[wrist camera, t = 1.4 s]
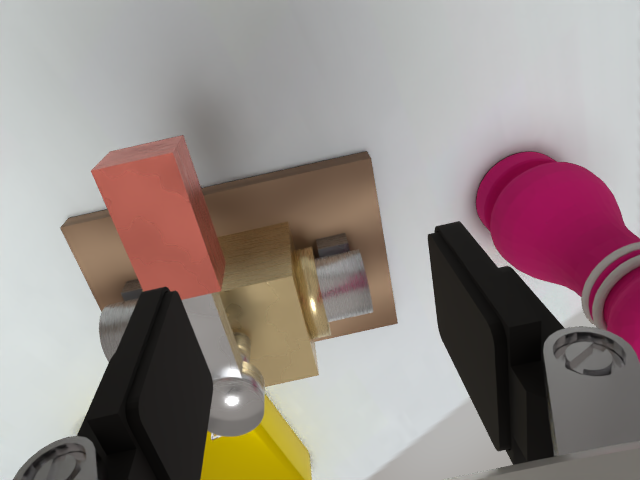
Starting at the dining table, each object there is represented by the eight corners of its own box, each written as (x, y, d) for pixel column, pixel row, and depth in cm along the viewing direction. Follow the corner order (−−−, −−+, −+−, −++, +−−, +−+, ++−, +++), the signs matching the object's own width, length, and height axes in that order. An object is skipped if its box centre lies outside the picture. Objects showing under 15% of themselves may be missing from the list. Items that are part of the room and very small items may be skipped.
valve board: (68, 217, 33) (60, 227, 31) (366, 151, 33) (370, 158, 31) (140, 367, 39) (135, 381, 37) (393, 311, 38) (397, 323, 37)
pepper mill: (585, 201, 36) (900, 412, 18) (497, 258, 37) (707, 505, 19) (543, 121, 33) (870, 278, 15) (449, 186, 34) (644, 400, 16)
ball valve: (109, 261, 33) (49, 362, 24) (347, 208, 33) (377, 289, 24) (147, 344, 36) (106, 460, 27) (365, 296, 36) (396, 397, 27)
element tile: (177, 520, 48) (168, 572, 43) (73, 421, 41) (51, 471, 37) (318, 460, 46) (323, 508, 41) (233, 347, 39) (228, 390, 35)
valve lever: (271, 392, 26) (271, 428, 24) (212, 405, 26) (207, 442, 24) (185, 134, 20) (175, 151, 18) (107, 151, 20) (88, 171, 18)
